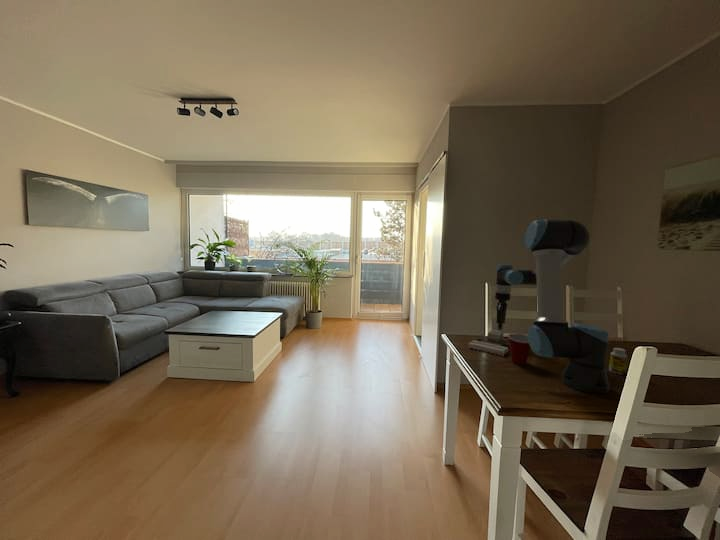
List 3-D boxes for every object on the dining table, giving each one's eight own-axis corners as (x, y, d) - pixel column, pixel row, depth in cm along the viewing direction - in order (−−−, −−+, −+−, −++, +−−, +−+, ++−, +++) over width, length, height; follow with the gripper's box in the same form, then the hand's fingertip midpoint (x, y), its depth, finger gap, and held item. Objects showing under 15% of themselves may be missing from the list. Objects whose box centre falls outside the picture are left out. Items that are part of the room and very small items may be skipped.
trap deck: (503, 356, 154) (504, 351, 154) (468, 348, 164) (468, 343, 164) (513, 346, 170) (514, 341, 169) (481, 339, 180) (481, 335, 180)
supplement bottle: (610, 372, 138) (612, 349, 137) (607, 368, 142) (610, 346, 142) (626, 375, 135) (629, 352, 134) (623, 371, 140) (626, 348, 139)
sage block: (499, 342, 167) (499, 335, 166) (487, 340, 170) (487, 332, 170) (502, 339, 172) (503, 332, 172) (491, 337, 176) (491, 330, 176)
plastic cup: (508, 365, 142) (510, 338, 141) (503, 357, 153) (505, 332, 152) (535, 368, 140) (537, 341, 139) (528, 359, 150) (530, 334, 149)
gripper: (499, 290, 183) (496, 331, 185) (492, 292, 173) (489, 335, 175) (513, 292, 179) (510, 333, 181) (507, 294, 168) (503, 338, 171)
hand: (499, 334), depth 178 cm, fingers closed
